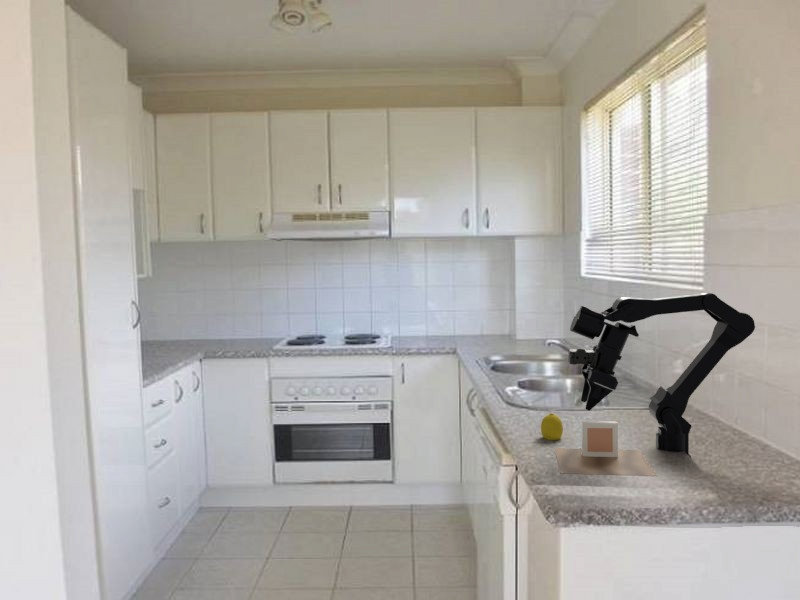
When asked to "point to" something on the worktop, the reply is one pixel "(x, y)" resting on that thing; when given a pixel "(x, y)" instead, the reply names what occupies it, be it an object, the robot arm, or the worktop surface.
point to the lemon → (551, 427)
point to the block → (599, 438)
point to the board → (603, 463)
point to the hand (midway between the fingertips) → (585, 405)
